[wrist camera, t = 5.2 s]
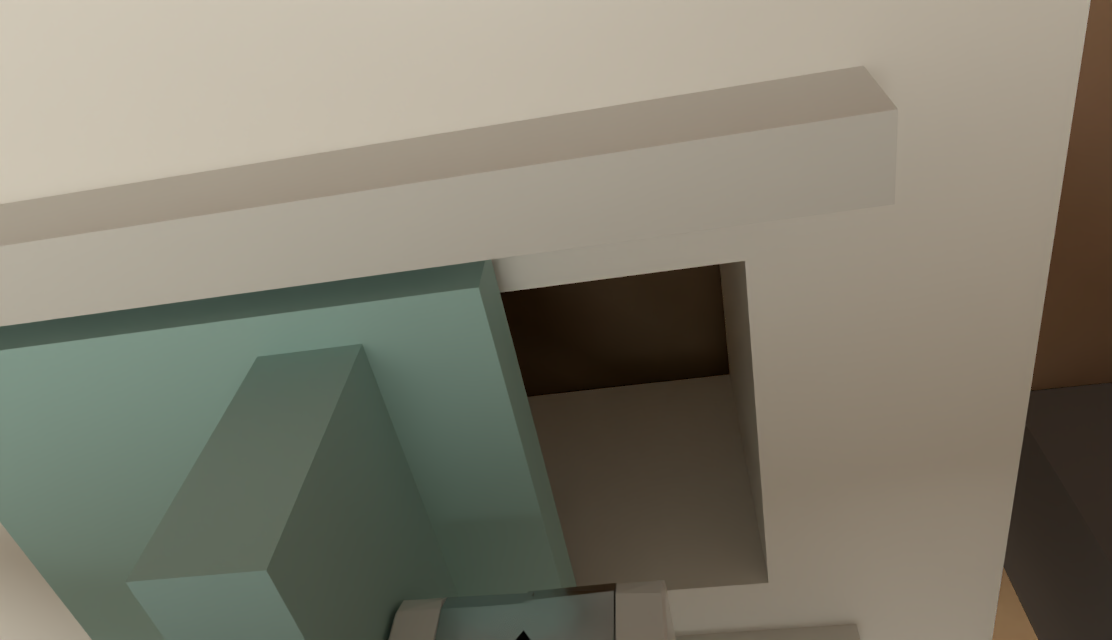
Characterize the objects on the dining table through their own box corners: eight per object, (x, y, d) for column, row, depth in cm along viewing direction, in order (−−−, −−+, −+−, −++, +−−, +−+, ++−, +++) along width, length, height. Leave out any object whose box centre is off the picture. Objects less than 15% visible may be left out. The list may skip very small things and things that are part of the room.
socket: (932, -256, 11) (1222, -260, 6) (895, 511, 18) (1005, 806, 13) (-253, -3, 13) (-788, 149, 8) (141, 575, 21) (-11, 842, 16)
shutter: (488, 249, 9) (422, 509, 6) (591, 644, 13) (585, 931, 10) (-74, 325, 10) (-381, 583, 7) (174, 671, 14) (47, 939, 11)
